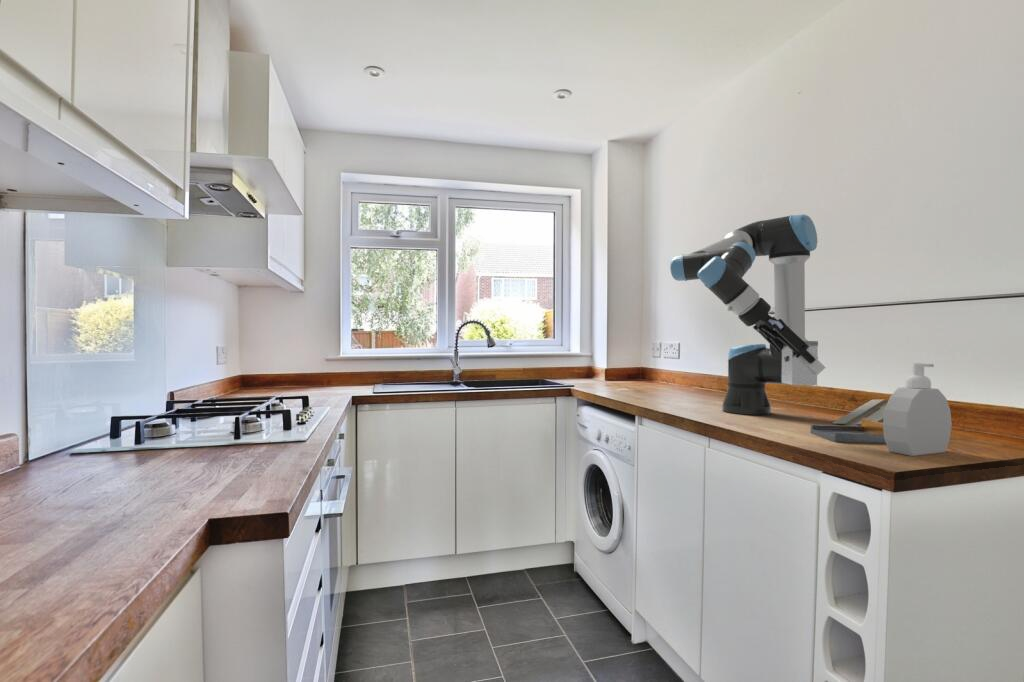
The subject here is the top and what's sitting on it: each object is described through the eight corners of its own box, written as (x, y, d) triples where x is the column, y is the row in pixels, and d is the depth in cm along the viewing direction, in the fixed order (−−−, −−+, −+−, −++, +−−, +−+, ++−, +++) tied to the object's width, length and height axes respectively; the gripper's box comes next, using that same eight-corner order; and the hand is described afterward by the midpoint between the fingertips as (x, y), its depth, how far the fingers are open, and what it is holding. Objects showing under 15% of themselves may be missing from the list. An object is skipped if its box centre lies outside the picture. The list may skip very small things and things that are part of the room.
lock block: (780, 382, 132) (780, 340, 131) (805, 383, 131) (806, 340, 131) (790, 384, 125) (791, 340, 125) (817, 385, 125) (817, 341, 125)
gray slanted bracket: (896, 448, 134) (931, 411, 136) (873, 424, 134) (908, 387, 137) (851, 445, 150) (882, 412, 152) (830, 423, 151) (862, 390, 153)
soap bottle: (908, 457, 106) (909, 364, 106) (881, 452, 111) (883, 363, 111) (953, 452, 112) (955, 363, 112) (926, 447, 117) (928, 362, 117)
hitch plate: (810, 432, 134) (810, 417, 134) (865, 434, 132) (866, 418, 132) (835, 442, 122) (835, 424, 122) (896, 443, 120) (896, 426, 120)
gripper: (725, 318, 139) (786, 377, 138) (751, 314, 120) (822, 383, 119) (745, 299, 138) (806, 358, 137) (775, 292, 120) (846, 361, 118)
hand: (813, 370), depth 128 cm, fingers closed on lock block, 6 cm apart
